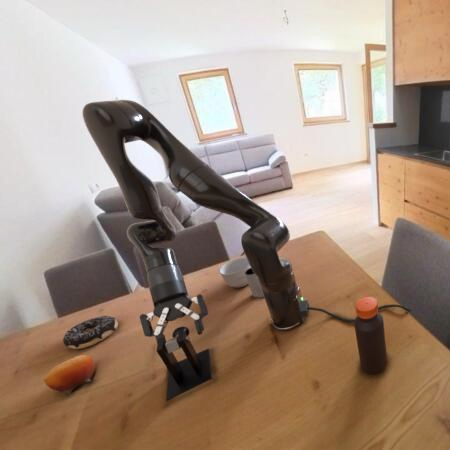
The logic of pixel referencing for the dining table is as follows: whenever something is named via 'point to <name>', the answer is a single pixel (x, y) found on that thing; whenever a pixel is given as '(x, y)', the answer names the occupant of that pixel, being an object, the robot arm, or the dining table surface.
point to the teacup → (235, 272)
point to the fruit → (70, 374)
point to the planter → (254, 283)
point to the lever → (175, 340)
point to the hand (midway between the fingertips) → (183, 340)
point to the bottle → (370, 336)
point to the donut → (90, 332)
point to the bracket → (184, 366)
